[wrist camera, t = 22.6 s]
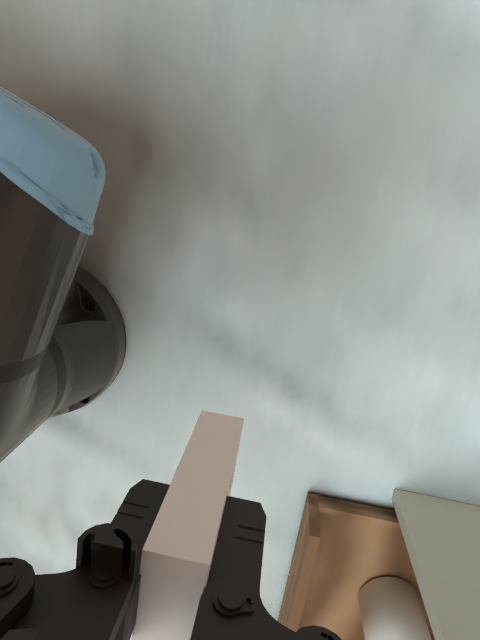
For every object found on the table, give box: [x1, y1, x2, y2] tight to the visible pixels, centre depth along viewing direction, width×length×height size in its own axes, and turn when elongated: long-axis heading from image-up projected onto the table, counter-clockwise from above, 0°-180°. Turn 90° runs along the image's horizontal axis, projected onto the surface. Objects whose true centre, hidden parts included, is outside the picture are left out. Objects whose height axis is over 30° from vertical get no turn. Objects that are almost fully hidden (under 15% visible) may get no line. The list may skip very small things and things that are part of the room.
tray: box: [278, 493, 435, 640], centre depth 45 cm, size 19×19×6 cm
